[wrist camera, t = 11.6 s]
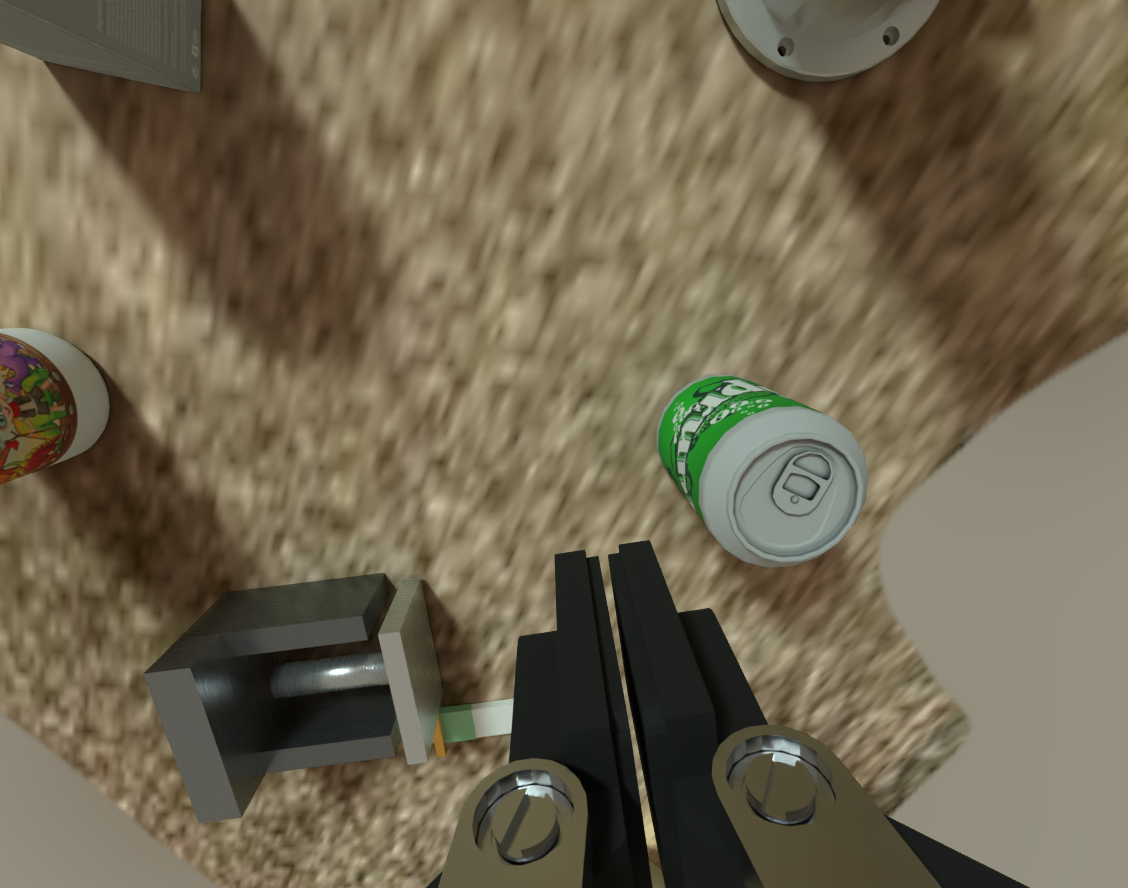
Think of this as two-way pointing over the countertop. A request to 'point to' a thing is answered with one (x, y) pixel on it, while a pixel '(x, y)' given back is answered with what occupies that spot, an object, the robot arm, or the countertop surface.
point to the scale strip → (476, 720)
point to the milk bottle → (46, 402)
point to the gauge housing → (268, 691)
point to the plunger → (386, 673)
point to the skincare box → (111, 37)
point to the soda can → (762, 469)
